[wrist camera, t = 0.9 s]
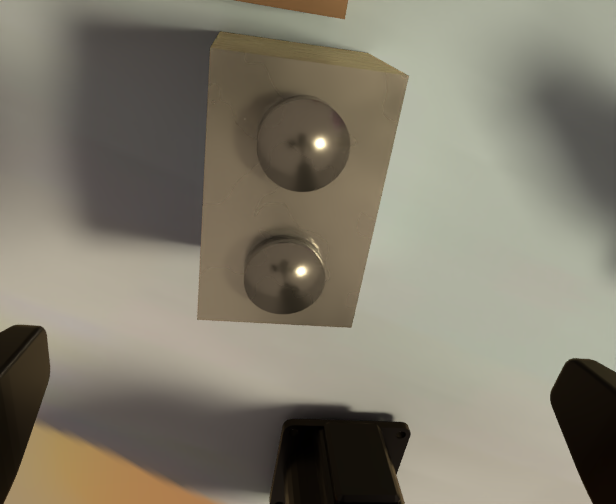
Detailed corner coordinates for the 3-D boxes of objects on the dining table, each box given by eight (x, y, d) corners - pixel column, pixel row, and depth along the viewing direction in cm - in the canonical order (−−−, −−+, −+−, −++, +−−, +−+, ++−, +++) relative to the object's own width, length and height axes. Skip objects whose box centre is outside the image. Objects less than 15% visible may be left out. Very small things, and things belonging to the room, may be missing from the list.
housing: (329, 254, 21) (354, 339, 16) (208, 245, 20) (195, 331, 15) (367, 52, 17) (415, 79, 12) (220, 31, 16) (208, 50, 11)
